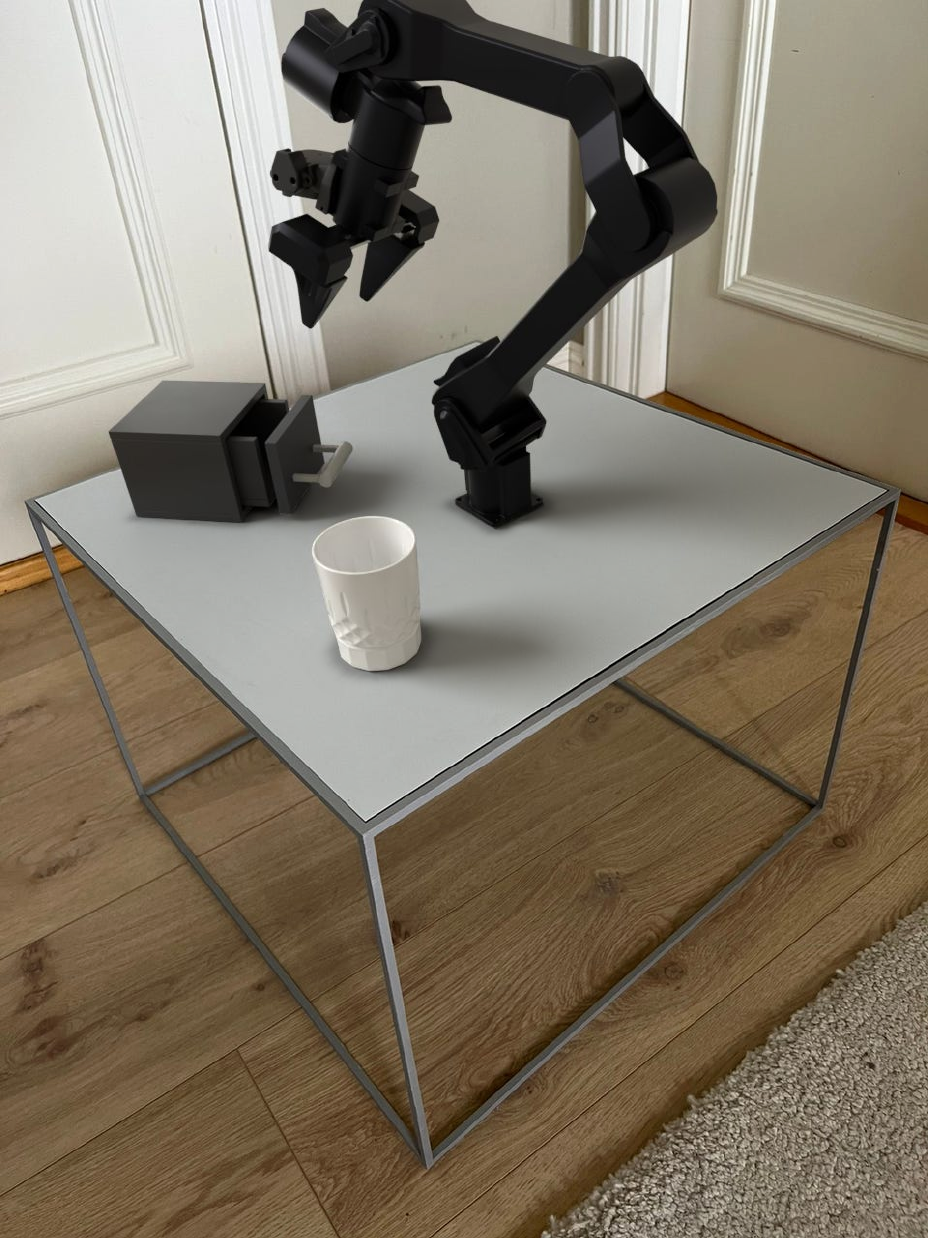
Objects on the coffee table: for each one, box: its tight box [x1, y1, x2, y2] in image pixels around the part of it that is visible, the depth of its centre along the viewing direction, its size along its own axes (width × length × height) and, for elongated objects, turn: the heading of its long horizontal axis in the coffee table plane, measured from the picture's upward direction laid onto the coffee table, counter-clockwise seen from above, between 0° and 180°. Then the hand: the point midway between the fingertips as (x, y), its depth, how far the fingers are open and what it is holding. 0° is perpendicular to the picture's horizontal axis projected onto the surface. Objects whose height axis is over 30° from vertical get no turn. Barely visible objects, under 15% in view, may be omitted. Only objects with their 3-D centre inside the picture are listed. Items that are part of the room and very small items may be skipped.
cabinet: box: [108, 379, 269, 524], centre depth 97 cm, size 12×12×10 cm
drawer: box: [225, 394, 353, 515], centre depth 95 cm, size 15×10×8 cm
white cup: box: [311, 515, 422, 672], centre depth 74 cm, size 8×8×10 cm
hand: (336, 311), depth 90 cm, fingers open, 9 cm apart
